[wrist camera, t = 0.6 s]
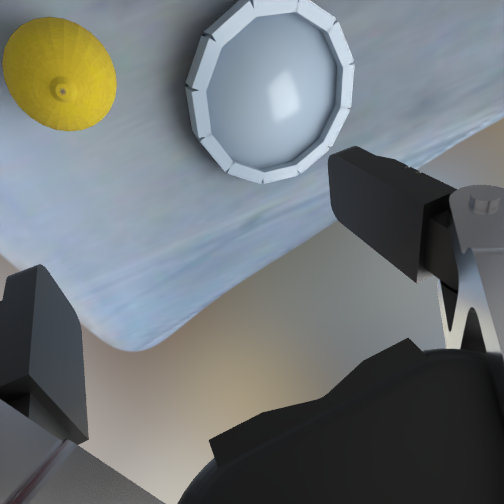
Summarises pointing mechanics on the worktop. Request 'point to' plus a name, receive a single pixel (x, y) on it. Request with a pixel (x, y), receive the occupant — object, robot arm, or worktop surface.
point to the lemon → (59, 74)
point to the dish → (270, 88)
